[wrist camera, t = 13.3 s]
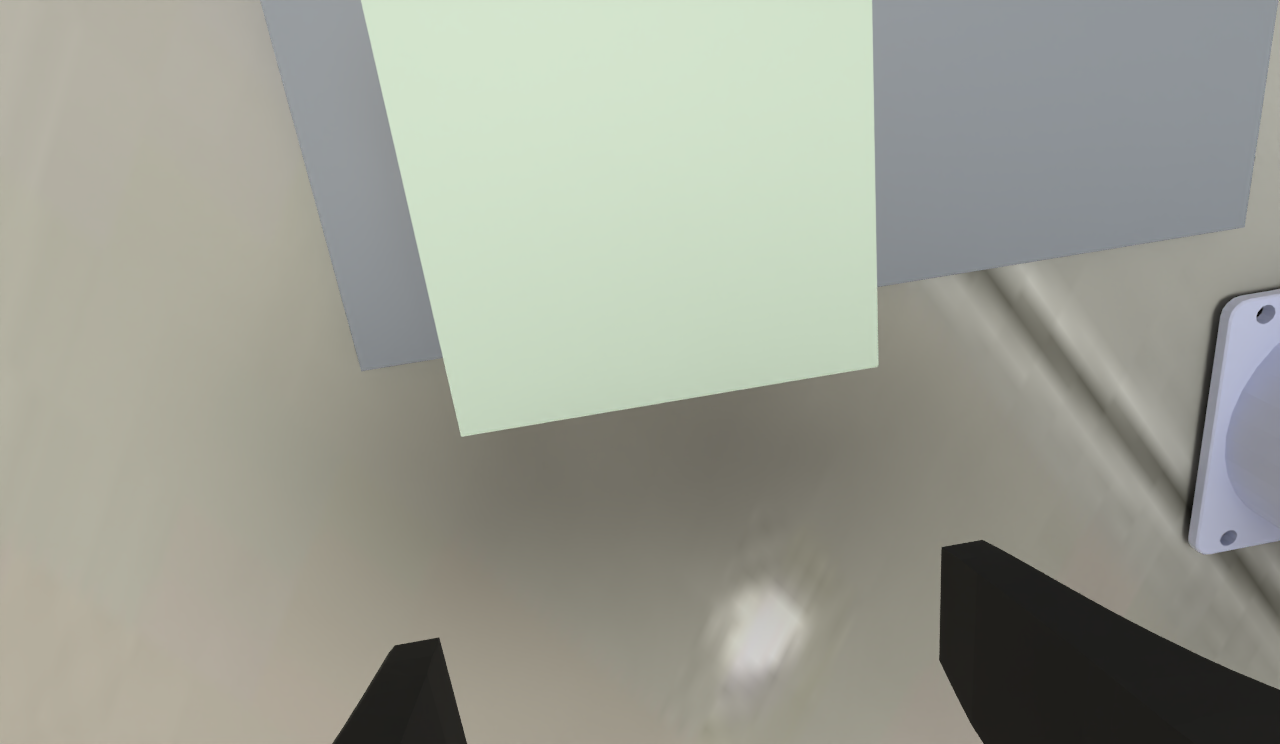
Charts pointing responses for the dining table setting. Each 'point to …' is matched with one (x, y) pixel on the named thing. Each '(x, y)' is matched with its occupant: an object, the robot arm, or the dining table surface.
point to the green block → (634, 195)
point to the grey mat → (880, 139)
